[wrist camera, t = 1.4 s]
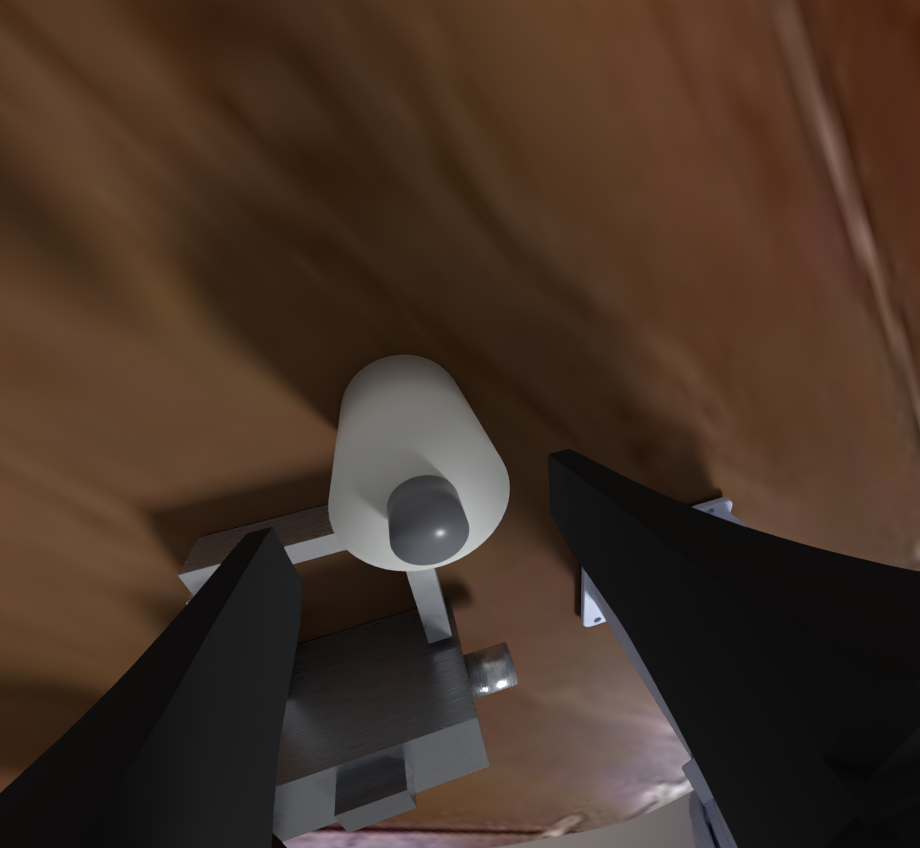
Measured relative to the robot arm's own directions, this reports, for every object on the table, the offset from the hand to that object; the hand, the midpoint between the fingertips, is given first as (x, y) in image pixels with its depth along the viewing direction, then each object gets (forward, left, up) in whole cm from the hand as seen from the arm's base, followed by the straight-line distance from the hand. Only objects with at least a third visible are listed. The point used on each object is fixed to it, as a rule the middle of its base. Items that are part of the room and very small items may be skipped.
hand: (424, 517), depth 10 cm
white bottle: (0, 0, -7) cm, 7 cm away
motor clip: (+4, +10, -6) cm, 13 cm away
